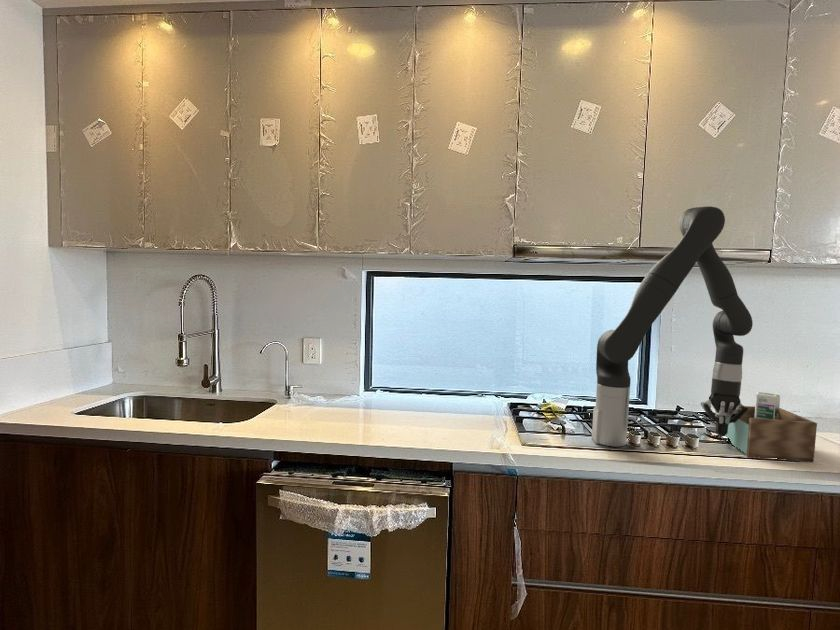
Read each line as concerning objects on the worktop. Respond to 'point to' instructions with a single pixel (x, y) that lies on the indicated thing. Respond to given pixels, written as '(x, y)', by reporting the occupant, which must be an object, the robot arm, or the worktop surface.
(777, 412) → the syrup box
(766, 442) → the wooden storage crate
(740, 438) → the mint green drawer
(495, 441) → the worktop surface
